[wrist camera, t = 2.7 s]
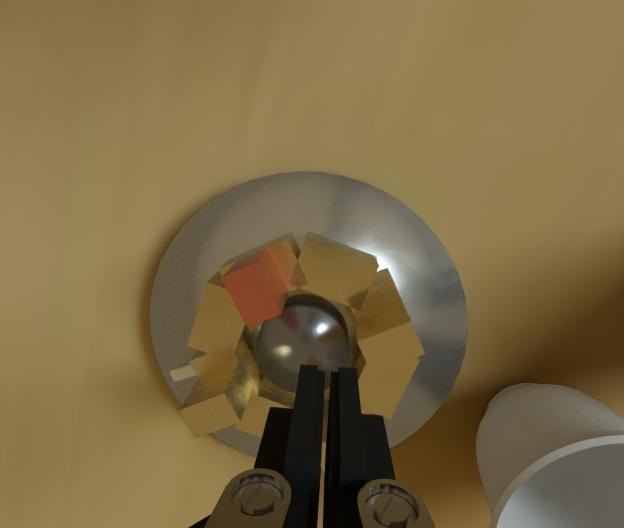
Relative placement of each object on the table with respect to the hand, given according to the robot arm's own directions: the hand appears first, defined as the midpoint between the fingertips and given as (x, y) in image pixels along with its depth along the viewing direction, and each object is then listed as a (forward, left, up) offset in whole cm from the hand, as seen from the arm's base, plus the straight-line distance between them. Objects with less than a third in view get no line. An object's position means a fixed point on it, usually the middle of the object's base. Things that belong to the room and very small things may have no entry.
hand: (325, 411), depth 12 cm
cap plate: (+4, +4, -17) cm, 17 cm away
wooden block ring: (+4, +4, -15) cm, 16 cm away
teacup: (-9, +18, -17) cm, 26 cm away
